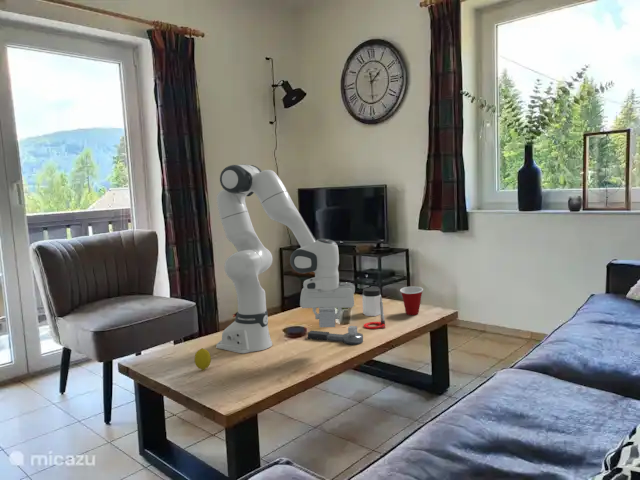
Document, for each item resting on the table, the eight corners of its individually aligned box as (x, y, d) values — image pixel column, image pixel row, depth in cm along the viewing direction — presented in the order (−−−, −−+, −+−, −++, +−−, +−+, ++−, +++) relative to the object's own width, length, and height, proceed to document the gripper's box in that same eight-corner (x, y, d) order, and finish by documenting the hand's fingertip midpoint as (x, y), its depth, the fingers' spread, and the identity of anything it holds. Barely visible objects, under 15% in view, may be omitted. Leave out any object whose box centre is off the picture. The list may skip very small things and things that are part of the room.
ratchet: (305, 340, 205) (305, 326, 204) (313, 334, 212) (313, 320, 212) (359, 345, 196) (358, 330, 195) (365, 339, 203) (365, 324, 202)
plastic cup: (396, 315, 237) (395, 290, 235) (406, 309, 245) (406, 285, 244) (417, 318, 230) (416, 292, 229) (427, 312, 239) (427, 287, 237)
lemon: (192, 370, 177) (190, 348, 176) (206, 366, 181) (204, 344, 180) (200, 374, 173) (199, 352, 172) (214, 369, 177) (213, 347, 176)
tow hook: (364, 330, 216) (385, 329, 216) (361, 301, 215) (383, 299, 214) (363, 325, 225) (384, 323, 224) (361, 296, 223) (382, 295, 223)
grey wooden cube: (319, 327, 186) (319, 311, 185) (319, 322, 192) (319, 307, 191) (335, 327, 186) (335, 311, 185) (334, 322, 192) (334, 307, 191)
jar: (383, 315, 237) (382, 290, 235) (367, 317, 235) (366, 292, 234) (377, 310, 246) (376, 286, 244) (361, 312, 244) (360, 288, 242)
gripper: (354, 280, 190) (353, 316, 192) (300, 281, 190) (300, 316, 192) (355, 284, 184) (355, 321, 186) (299, 284, 183) (300, 321, 185)
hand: (327, 318), depth 189 cm, fingers closed on grey wooden cube, 6 cm apart
